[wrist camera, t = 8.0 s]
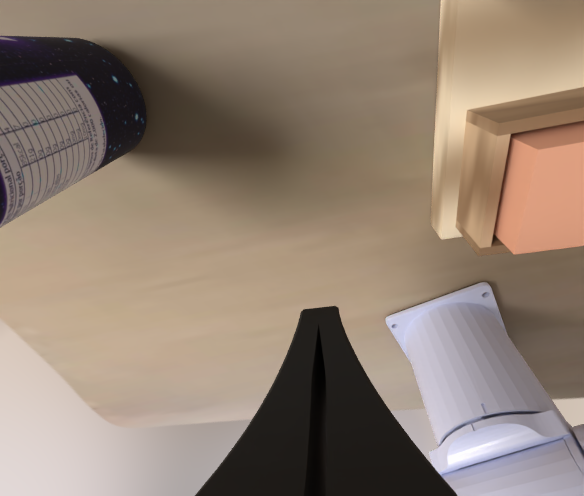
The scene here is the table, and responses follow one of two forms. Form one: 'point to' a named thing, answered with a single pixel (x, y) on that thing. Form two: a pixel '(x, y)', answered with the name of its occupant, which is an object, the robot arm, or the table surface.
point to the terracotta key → (543, 190)
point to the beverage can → (60, 117)
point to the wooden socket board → (497, 101)
